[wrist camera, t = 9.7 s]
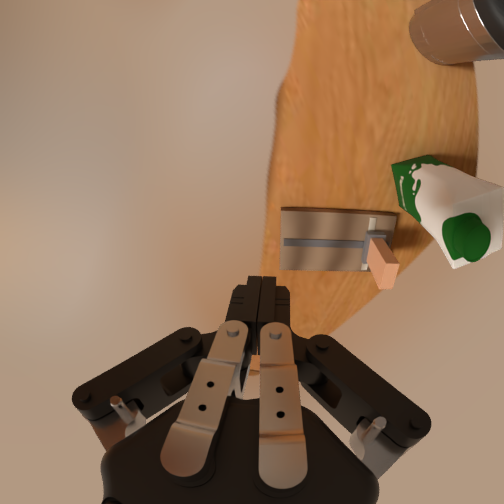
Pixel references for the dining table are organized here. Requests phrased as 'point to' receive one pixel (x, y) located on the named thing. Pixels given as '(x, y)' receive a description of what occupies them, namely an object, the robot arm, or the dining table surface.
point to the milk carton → (452, 207)
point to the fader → (380, 259)
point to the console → (329, 238)
